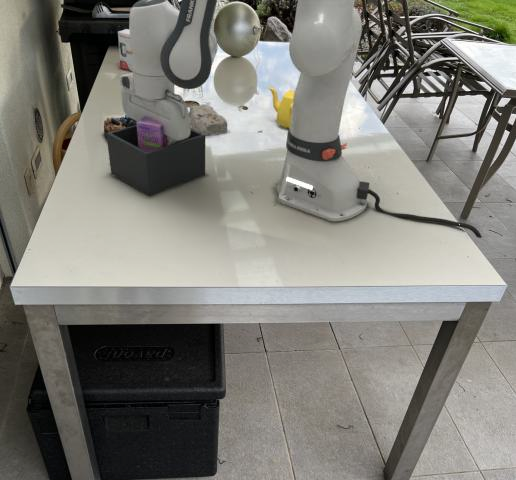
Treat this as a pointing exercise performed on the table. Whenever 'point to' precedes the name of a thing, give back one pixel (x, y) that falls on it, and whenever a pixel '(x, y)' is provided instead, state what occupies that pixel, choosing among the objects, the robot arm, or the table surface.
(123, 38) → the ink box
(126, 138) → the bin
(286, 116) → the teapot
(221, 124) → the stone
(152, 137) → the box
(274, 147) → the table surface
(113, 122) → the pastry
